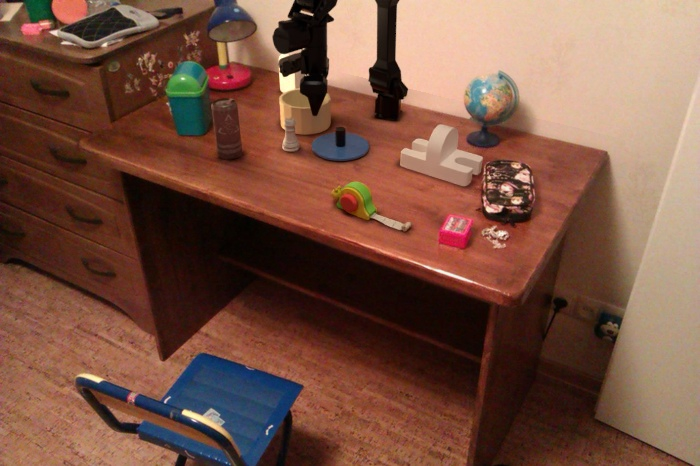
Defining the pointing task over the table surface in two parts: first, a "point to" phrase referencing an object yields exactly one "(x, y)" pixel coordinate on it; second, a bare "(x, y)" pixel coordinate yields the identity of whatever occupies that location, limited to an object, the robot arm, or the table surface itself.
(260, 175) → the table surface
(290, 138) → the rook chess piece
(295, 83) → the photo printer
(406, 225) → the toy measuring tape
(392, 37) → the robot arm
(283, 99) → the tin
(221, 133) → the can
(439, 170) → the grey bracket part
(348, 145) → the lid
